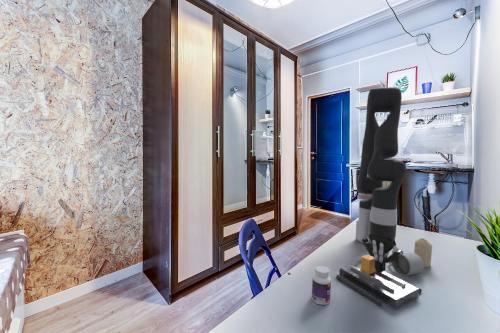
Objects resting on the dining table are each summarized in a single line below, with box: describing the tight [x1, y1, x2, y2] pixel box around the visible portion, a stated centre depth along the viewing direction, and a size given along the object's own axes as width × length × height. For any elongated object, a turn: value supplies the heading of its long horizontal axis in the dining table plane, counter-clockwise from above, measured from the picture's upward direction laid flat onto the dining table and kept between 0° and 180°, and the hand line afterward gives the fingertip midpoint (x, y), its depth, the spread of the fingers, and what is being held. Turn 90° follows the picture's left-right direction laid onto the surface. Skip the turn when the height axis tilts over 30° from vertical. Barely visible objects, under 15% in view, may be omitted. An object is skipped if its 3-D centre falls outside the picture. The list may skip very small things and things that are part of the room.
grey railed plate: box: [335, 273, 423, 307], centre depth 78 cm, size 18×19×1 cm
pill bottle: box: [311, 265, 332, 306], centre depth 70 cm, size 5×5×10 cm
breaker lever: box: [360, 253, 376, 274], centre depth 80 cm, size 3×4×5 cm
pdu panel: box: [338, 259, 420, 310], centre depth 78 cm, size 20×12×4 cm, turn 28°
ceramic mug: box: [388, 252, 424, 277], centre depth 87 cm, size 11×8×8 cm
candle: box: [413, 238, 433, 268], centre depth 93 cm, size 6×6×10 cm
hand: (379, 271), depth 77 cm, fingers closed
